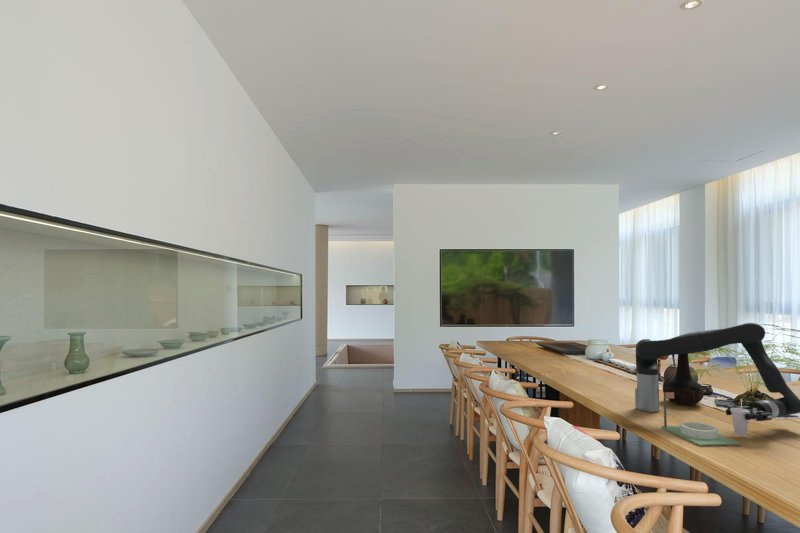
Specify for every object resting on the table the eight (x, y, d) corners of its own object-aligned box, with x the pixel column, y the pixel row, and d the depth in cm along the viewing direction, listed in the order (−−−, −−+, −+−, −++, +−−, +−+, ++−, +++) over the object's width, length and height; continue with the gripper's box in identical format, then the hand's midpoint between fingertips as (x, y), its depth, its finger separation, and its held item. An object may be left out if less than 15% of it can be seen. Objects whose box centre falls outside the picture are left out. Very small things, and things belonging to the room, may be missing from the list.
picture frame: (758, 406, 229) (714, 401, 239) (758, 402, 230) (714, 397, 239) (762, 412, 218) (716, 407, 227) (762, 408, 218) (716, 403, 227)
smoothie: (754, 438, 176) (753, 401, 177) (735, 436, 178) (734, 400, 178) (745, 432, 183) (744, 397, 183) (727, 431, 184) (726, 396, 184)
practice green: (661, 428, 192) (660, 392, 193) (698, 427, 193) (697, 391, 194) (699, 446, 170) (698, 405, 171) (740, 445, 171) (739, 405, 172)
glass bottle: (666, 397, 245) (665, 344, 247) (706, 403, 234) (705, 347, 235) (659, 403, 232) (657, 347, 233) (701, 410, 220) (699, 351, 221)
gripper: (743, 396, 193) (717, 400, 186) (782, 405, 180) (756, 409, 173) (743, 414, 193) (717, 419, 186) (783, 424, 179) (756, 429, 173)
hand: (736, 414), depth 180 cm, fingers closed on smoothie, 6 cm apart
